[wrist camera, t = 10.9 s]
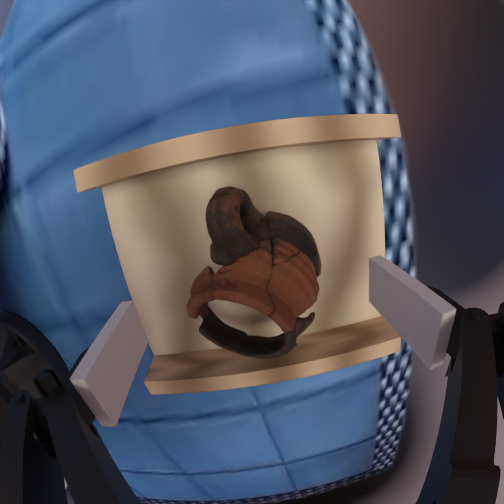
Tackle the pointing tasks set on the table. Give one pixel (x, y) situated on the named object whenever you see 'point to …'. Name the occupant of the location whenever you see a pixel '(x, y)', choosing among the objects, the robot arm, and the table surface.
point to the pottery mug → (256, 274)
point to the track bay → (264, 200)
